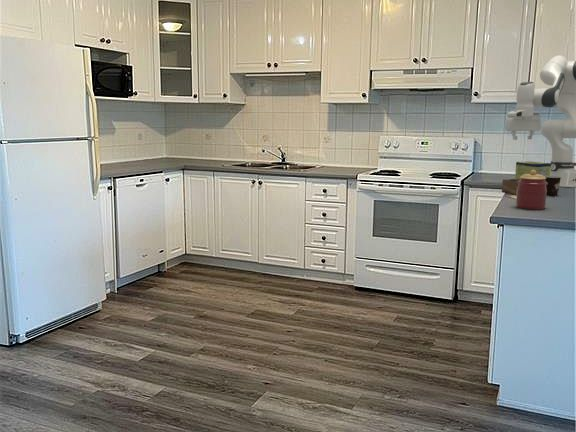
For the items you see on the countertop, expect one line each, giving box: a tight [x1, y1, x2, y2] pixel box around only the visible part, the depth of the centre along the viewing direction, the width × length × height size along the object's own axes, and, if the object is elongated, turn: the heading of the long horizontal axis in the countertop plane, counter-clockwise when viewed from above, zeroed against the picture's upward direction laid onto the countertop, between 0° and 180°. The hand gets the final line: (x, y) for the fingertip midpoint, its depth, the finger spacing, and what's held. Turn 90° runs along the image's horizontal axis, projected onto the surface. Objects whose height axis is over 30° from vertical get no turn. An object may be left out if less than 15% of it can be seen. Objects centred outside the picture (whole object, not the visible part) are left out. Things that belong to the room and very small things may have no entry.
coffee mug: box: [544, 176, 561, 197], centre depth 293 cm, size 12×9×10 cm
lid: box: [504, 191, 517, 200], centre depth 285 cm, size 13×13×5 cm
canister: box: [515, 170, 548, 210], centre depth 257 cm, size 13×13×18 cm
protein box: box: [514, 160, 551, 179], centre depth 313 cm, size 10×16×16 cm
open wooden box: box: [501, 178, 520, 196], centre depth 301 cm, size 12×12×7 cm
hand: (522, 139), depth 296 cm, fingers open, 8 cm apart
